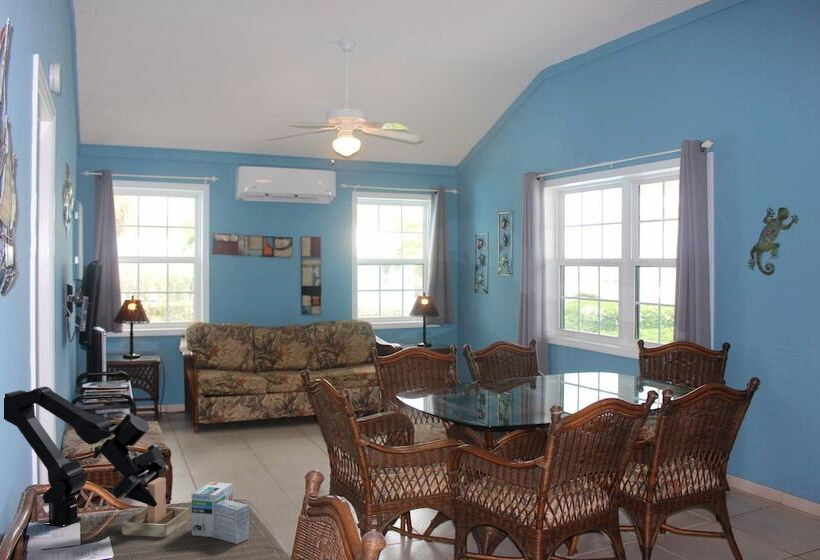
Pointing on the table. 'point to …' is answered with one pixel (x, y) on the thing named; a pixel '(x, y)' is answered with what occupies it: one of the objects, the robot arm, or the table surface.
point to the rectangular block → (157, 500)
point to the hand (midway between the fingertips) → (161, 501)
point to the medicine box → (231, 521)
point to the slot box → (156, 523)
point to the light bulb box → (208, 506)
